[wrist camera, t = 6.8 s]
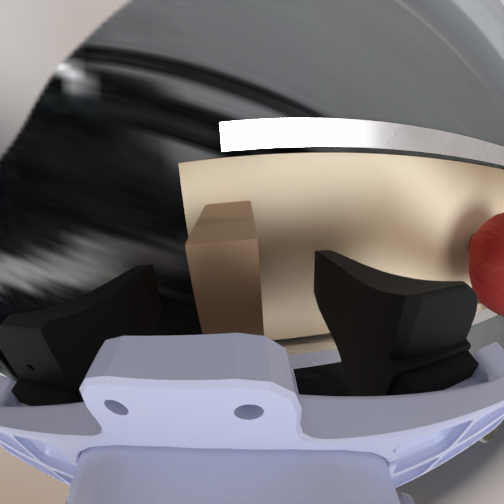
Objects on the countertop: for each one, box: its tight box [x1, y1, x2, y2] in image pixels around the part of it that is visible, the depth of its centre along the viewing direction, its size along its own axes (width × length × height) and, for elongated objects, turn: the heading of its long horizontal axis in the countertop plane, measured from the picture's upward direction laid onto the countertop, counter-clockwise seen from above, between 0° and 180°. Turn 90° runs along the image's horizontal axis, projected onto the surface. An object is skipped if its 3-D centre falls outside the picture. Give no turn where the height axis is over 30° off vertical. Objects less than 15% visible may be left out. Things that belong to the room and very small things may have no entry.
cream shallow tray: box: [178, 152, 504, 340], centre depth 11 cm, size 10×22×6 cm, turn 94°
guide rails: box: [219, 118, 504, 369], centre depth 13 cm, size 13×30×2 cm, turn 94°
